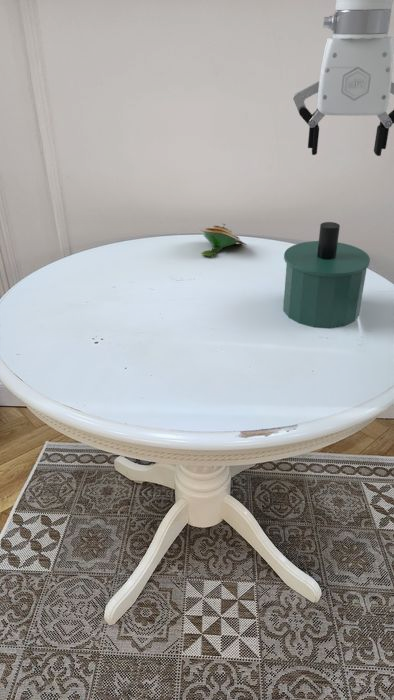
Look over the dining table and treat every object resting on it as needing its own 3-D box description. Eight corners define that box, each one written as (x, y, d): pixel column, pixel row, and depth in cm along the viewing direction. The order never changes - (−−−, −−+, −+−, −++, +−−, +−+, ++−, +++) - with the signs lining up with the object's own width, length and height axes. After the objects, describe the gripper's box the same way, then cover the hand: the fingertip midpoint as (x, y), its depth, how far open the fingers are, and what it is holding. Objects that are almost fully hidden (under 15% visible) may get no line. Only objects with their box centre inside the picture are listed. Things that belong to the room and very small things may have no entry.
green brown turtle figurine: (247, 265, 117) (258, 227, 116) (188, 248, 116) (199, 210, 115) (237, 269, 132) (246, 235, 131) (185, 254, 130) (194, 220, 130)
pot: (354, 297, 103) (362, 246, 98) (361, 333, 92) (370, 277, 86) (283, 294, 105) (287, 243, 100) (282, 328, 94) (286, 273, 88)
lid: (364, 248, 98) (369, 212, 95) (373, 282, 86) (380, 242, 83) (284, 245, 101) (287, 210, 97) (282, 277, 88) (285, 238, 85)
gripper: (298, 27, 72) (289, 158, 82) (431, 25, 70) (406, 160, 79) (298, 26, 79) (289, 147, 88) (420, 24, 76) (398, 149, 85)
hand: (345, 153), depth 83 cm, fingers open, 9 cm apart
